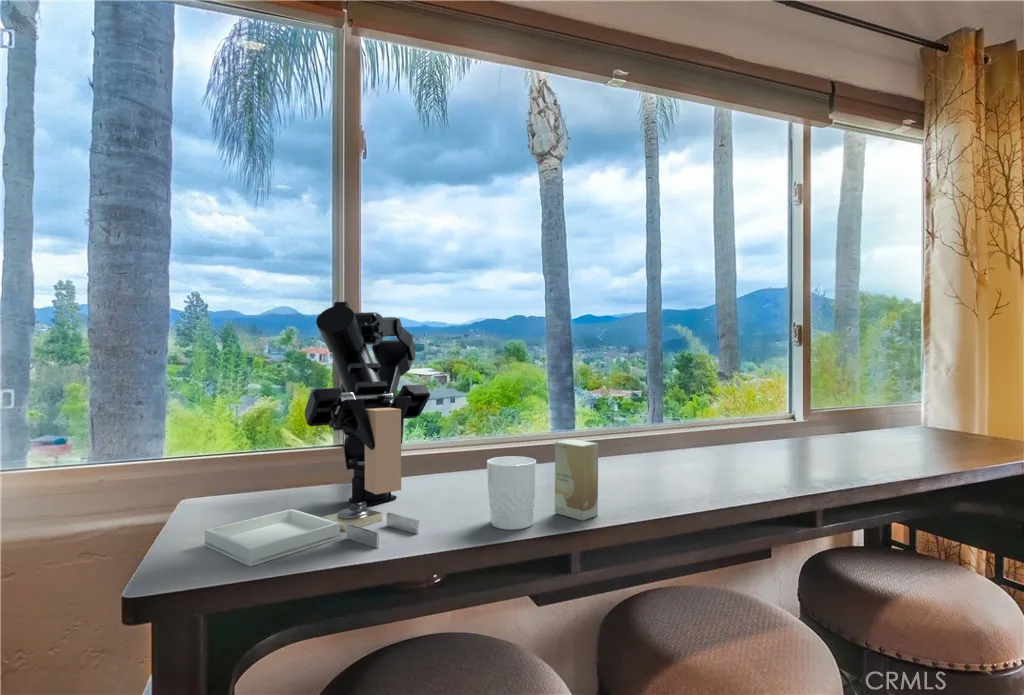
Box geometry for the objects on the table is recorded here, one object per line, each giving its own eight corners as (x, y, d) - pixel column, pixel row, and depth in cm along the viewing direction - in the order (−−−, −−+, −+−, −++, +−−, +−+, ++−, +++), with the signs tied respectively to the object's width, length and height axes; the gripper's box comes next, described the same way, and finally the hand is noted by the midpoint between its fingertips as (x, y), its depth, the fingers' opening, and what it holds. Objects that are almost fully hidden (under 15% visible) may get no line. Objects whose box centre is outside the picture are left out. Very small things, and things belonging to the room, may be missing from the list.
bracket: (359, 514, 89) (359, 494, 89) (424, 531, 80) (424, 509, 80) (312, 527, 82) (312, 506, 82) (376, 548, 73) (376, 524, 73)
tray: (291, 522, 85) (291, 508, 85) (340, 538, 77) (340, 523, 77) (204, 545, 74) (204, 530, 75) (250, 566, 66) (250, 549, 67)
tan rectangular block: (364, 489, 78) (364, 409, 79) (389, 485, 81) (389, 407, 81) (375, 494, 75) (375, 410, 76) (401, 490, 78) (400, 409, 78)
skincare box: (553, 513, 88) (552, 441, 89) (570, 508, 91) (569, 438, 92) (584, 521, 84) (582, 445, 84) (600, 516, 87) (599, 442, 87)
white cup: (547, 523, 83) (546, 460, 83) (511, 535, 78) (511, 467, 78) (512, 513, 89) (512, 454, 89) (477, 523, 83) (476, 460, 84)
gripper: (394, 401, 96) (424, 470, 87) (288, 407, 84) (309, 488, 75) (414, 357, 90) (448, 427, 81) (303, 357, 79) (329, 439, 70)
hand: (386, 446), depth 77 cm, fingers closed on tan rectangular block, 4 cm apart
